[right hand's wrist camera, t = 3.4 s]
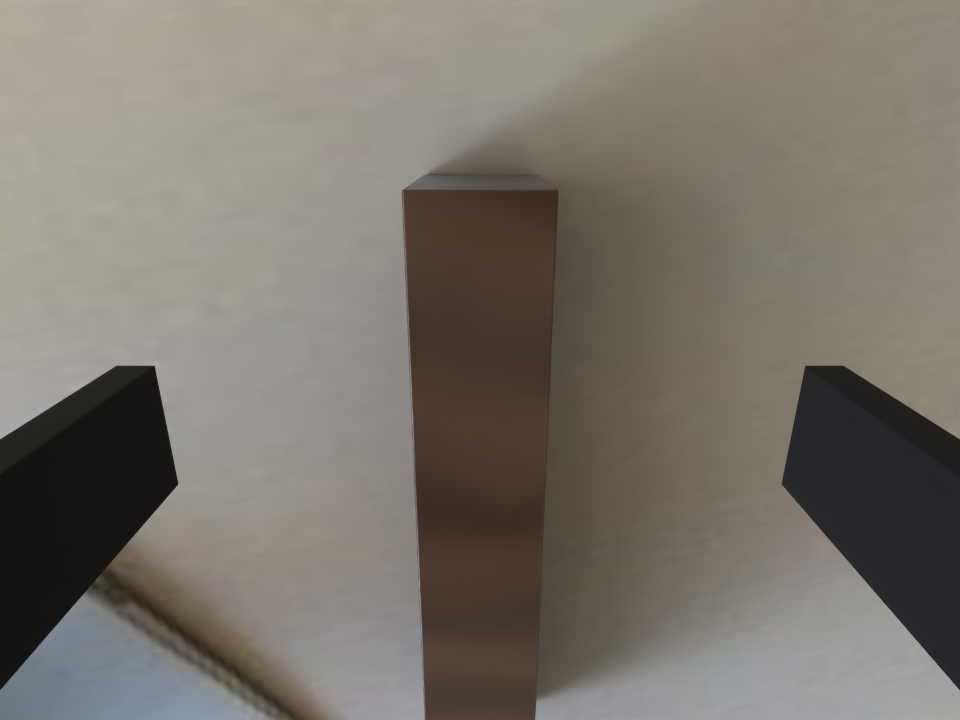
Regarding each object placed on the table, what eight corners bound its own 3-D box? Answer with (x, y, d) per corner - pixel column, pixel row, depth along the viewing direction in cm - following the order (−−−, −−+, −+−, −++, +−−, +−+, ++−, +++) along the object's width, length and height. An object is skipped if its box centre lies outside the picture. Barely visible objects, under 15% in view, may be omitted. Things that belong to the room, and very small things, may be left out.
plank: (423, 174, 27) (401, 189, 19) (536, 174, 27) (558, 189, 19) (440, 707, 38) (430, 848, 30) (519, 707, 38) (529, 848, 30)
